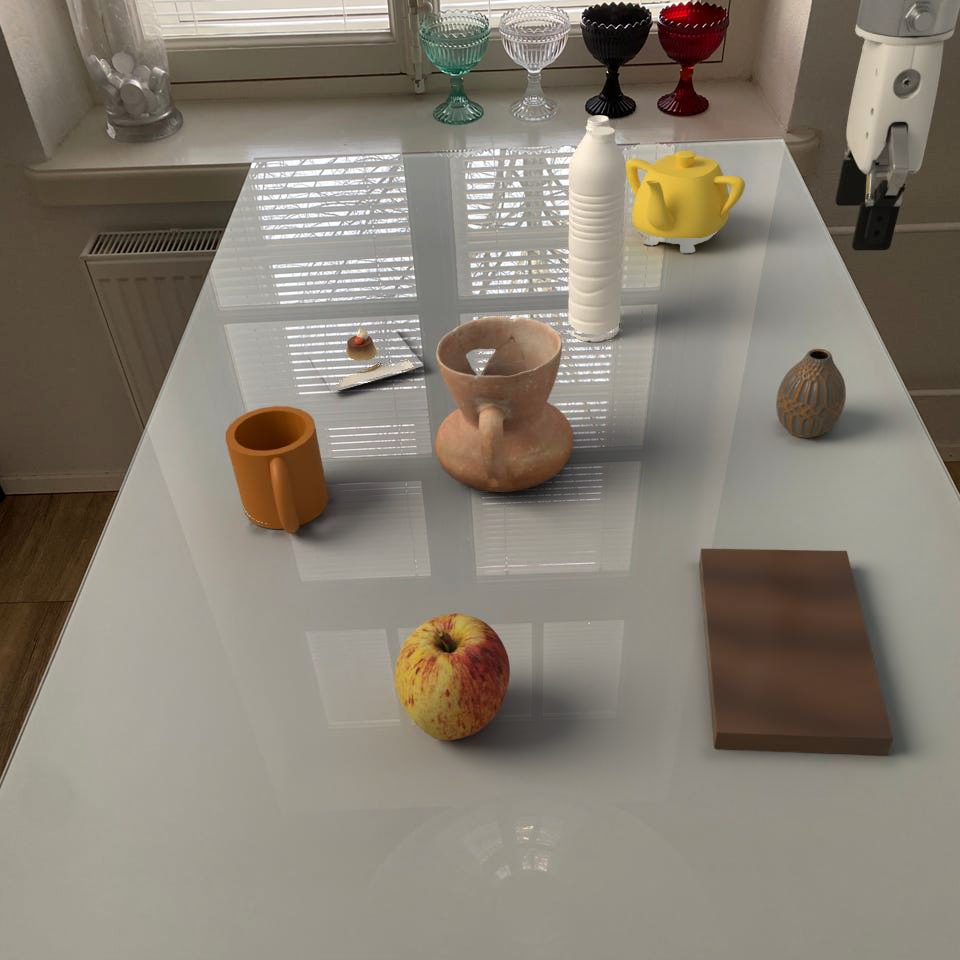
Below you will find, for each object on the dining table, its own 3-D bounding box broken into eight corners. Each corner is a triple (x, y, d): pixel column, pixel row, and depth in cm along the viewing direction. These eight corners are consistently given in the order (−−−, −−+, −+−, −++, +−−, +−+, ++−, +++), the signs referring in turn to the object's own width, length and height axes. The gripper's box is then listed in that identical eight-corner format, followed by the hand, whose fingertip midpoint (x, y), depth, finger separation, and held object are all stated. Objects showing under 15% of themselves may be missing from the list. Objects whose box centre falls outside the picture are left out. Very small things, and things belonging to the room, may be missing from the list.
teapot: (613, 228, 147) (615, 143, 138) (705, 214, 148) (713, 130, 140) (643, 267, 137) (647, 178, 129) (741, 252, 138) (752, 163, 130)
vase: (850, 424, 107) (867, 350, 101) (817, 453, 104) (833, 378, 98) (793, 403, 111) (806, 331, 104) (759, 431, 107) (771, 357, 101)
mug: (235, 553, 98) (212, 478, 92) (250, 481, 107) (230, 408, 100) (325, 546, 98) (308, 471, 92) (333, 475, 106) (318, 402, 100)
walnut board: (698, 564, 93) (700, 548, 91) (842, 567, 91) (847, 550, 90) (714, 749, 77) (716, 732, 76) (887, 755, 76) (893, 739, 74)
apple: (502, 769, 77) (495, 682, 70) (390, 757, 79) (372, 671, 71) (519, 683, 83) (515, 596, 76) (415, 674, 85) (401, 587, 78)
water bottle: (565, 320, 128) (565, 110, 110) (616, 316, 128) (623, 105, 110) (573, 353, 121) (574, 137, 104) (626, 349, 121) (635, 132, 104)
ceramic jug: (454, 419, 113) (443, 301, 103) (581, 425, 110) (583, 304, 100) (419, 517, 100) (403, 393, 90) (562, 526, 98) (561, 399, 88)
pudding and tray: (332, 400, 117) (325, 363, 114) (303, 356, 125) (296, 320, 122) (426, 373, 120) (422, 337, 117) (391, 332, 128) (387, 297, 125)
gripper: (985, 41, 72) (923, 267, 85) (933, -18, 85) (885, 188, 97) (878, 44, 73) (832, 268, 85) (842, -14, 85) (806, 189, 97)
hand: (860, 225), depth 91 cm, fingers open, 9 cm apart
